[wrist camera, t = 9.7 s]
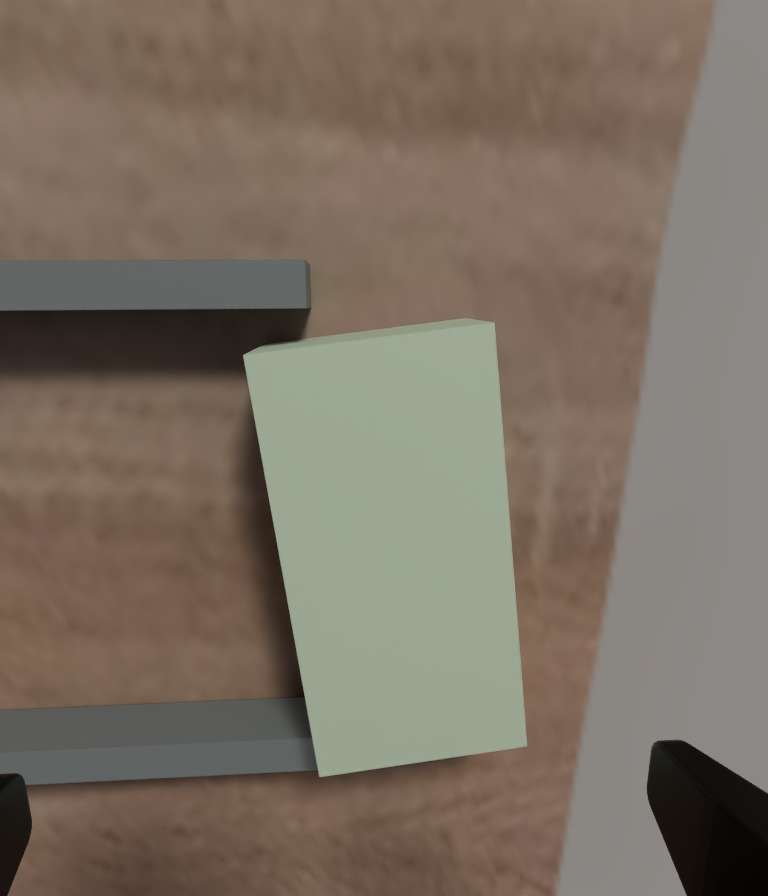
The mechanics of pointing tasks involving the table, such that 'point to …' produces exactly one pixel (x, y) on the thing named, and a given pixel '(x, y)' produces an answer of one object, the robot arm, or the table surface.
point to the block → (394, 539)
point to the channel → (165, 724)
